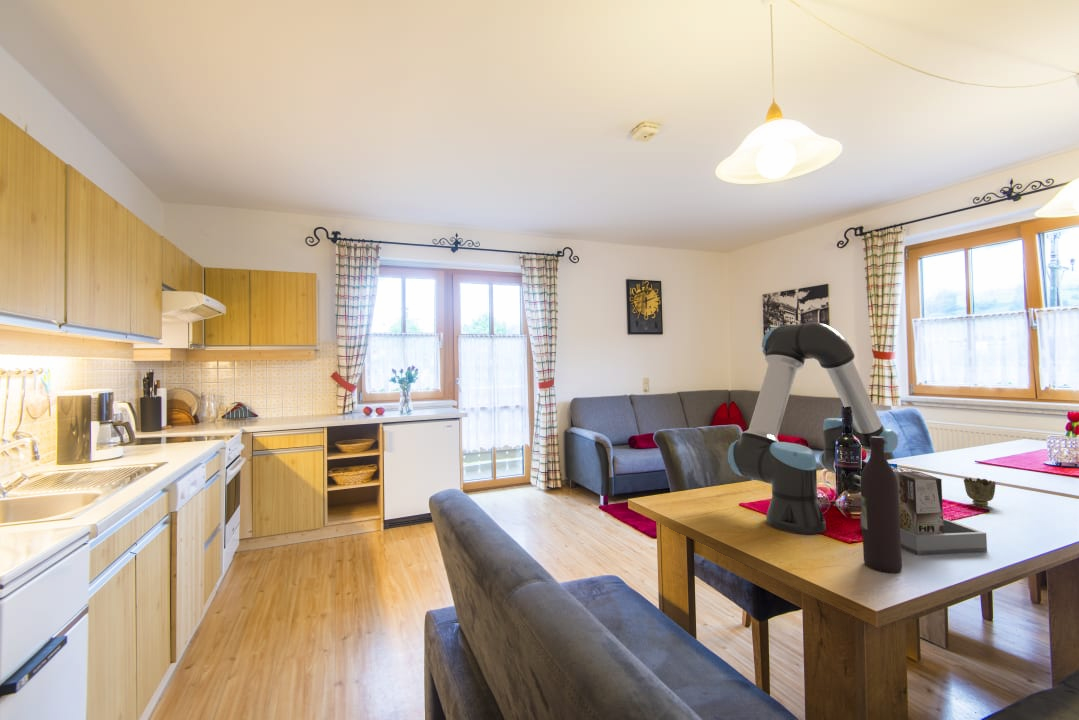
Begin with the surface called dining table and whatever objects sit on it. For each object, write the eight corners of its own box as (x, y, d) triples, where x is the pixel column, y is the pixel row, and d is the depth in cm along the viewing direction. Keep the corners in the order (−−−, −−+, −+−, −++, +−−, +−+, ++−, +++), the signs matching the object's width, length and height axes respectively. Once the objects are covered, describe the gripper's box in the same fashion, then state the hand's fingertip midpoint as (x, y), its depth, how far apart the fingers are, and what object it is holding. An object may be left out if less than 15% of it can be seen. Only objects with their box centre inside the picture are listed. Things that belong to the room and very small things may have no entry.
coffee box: (945, 542, 114) (943, 479, 114) (917, 541, 115) (914, 478, 115) (921, 529, 123) (919, 470, 123) (895, 529, 124) (892, 470, 124)
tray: (917, 555, 109) (916, 536, 109) (860, 528, 127) (860, 512, 127) (987, 551, 110) (986, 533, 110) (921, 526, 128) (920, 510, 128)
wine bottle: (882, 559, 108) (877, 434, 108) (910, 572, 101) (904, 438, 101) (856, 561, 107) (850, 435, 107) (882, 575, 100) (876, 440, 100)
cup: (970, 507, 143) (969, 482, 143) (960, 500, 150) (959, 476, 150) (1001, 509, 140) (1000, 484, 140) (990, 503, 146) (989, 478, 147)
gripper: (893, 480, 148) (942, 498, 127) (812, 479, 151) (847, 497, 130) (892, 457, 148) (941, 472, 127) (811, 457, 151) (846, 471, 130)
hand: (893, 485), depth 129 cm, fingers open, 13 cm apart
